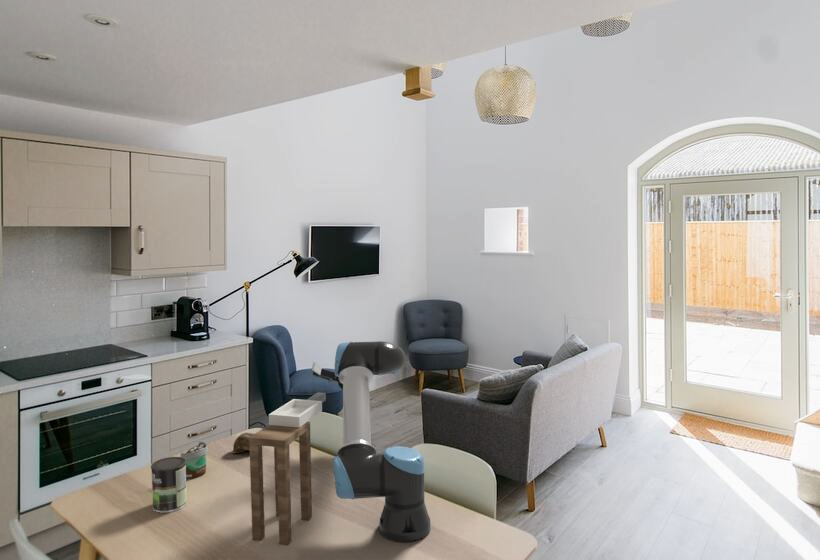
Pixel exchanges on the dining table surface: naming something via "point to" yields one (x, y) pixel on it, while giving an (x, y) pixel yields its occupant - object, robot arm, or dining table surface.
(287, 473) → the walnut stand
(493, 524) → the dining table surface
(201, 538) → the dining table surface
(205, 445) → the food container
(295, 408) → the sliding tray
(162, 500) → the coffee can
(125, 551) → the dining table surface
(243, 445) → the seashell
